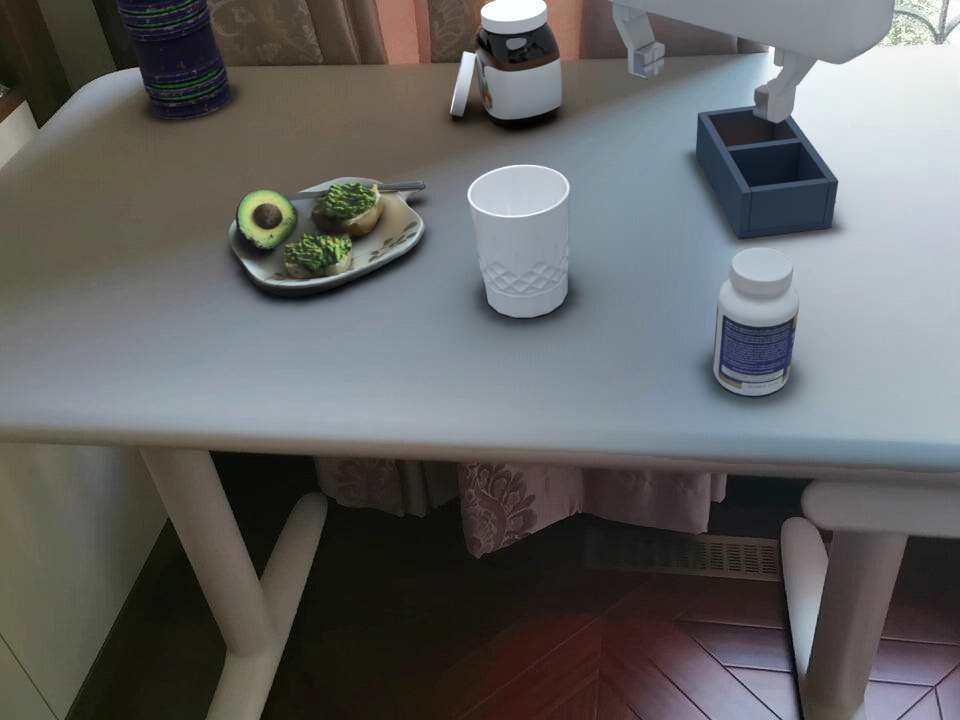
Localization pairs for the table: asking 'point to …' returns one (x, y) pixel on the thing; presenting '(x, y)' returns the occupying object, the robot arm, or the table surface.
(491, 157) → the table surface
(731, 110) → the divided storage box
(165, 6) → the storage jar
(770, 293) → the pill bottle
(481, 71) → the spread jar
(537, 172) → the white cup
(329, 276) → the avocado toast plate
